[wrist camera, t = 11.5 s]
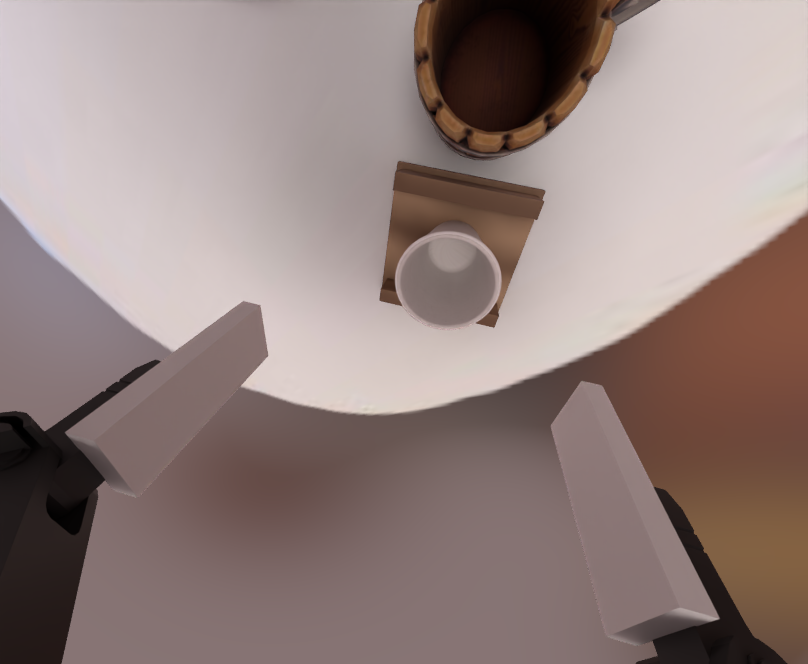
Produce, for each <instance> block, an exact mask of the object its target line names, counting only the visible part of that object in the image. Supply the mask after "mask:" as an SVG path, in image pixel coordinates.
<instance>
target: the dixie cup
mask: <svg viewBox="0 0 808 664" xmlns="http://www.w3.org/2000/svg"><path fill="white" fill-rule="evenodd" d="M501 282H502V279H501V271H500V267H499V264H498V262H497V259H496V258H495V256H494V254H493V253H492V252H491V250H490V249H489V248H488V247H487V246H486V245H485V244H484V243H483V242H482V240H481V239H480V237H479V235H478V234H477V232H476V231H475V230H474V228H473V227H471V226H470V225H469V224H467V223H465V222H462V221H458V220H451V221H446V222H443V223H441V224H440V225H438V226H437V227H436V228H434V229H433V230H432V231H431V232H430V233H429V234H427V235H426V236H424V237H422V238H420V239H418V240H417V241H415V242H414V243H413V244H412V245H410V246H409V247H408V248H407V250H406V251H405V252H404V254H403V255H402V257H401V258H400V260H399V263H398V265H397V269H396V274H395V287H396V292H397V295H398V298H399V300H400V302H401V304H402V306H403V307H404V308H405V310H406V311H407V312H408V313H409V314H410V315H411V316H412V317H413V318H415V319H416V320H417V321H419V322H421V323H422V324H424V325H427V326H429V327H432V328H436V329H443V330H454V329H460V328H464V327H467V326H470V325H472V324H474V323H476V322H478V321H479V320H481V319H482V318H483V317H485V316H486V315H487V314H488V313H489V312H490V310H491V309H492V308H493V306H494V305H495V303H496V301H497V299H498V297H499V294H500V290H501Z"/></svg>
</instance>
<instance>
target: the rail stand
mask: <svg viewBox="0 0 808 664" xmlns="http://www.w3.org/2000/svg"><path fill="white" fill-rule="evenodd" d="M393 190H394V197H393V204H392V212H391V220H390V228H389V236H388V244H387V252H386V260H385V268H384V276H383V284H382V288H381V293H380V301H383V302H387V303H392V304H396V305H400V306H402V304H401V302H400V300H399V298H398V295H397V292H396V287H395V274H396V269H397V265H398V263H399V260H400V258H401V257H402V255H403V254H404V252H405V251H406V250H407V248H408V247H409V246H410V245H412V244H413V243H414V242H415V241H417V240H418V239H420V238H422V237H424V236H426V235H427V234H429V233H430V232H431V231H432V230H433V229H434V228H436V227H437V226H438V225H440V224H441V223H443V222H446V221H451V220H458V221H462V222H465V223H467V224H469V225H470V226H471V227H473V228H474V230H475V231H476V232H477V234H478V235H479V237H480V239H481V240H482V242H483V243H484V244H485V245H486V246H487V247H488V248H489V249H490V250H491V252H492V253H493V254H494V256H495V258H496V259H497V262H498V264H499V267H500V271H501V279H502V282H501V290H500V294H499V297H498V299H497V301H496V303H495V305H494V306H493V308H492V309H491V310H490V312H489V313H488V314H487V315H486V316H485V317H483V318H482V319H481V320H479V321H478V322H476V323H477V324H481V325H485V326H489V327H495V324H496V322H497V319H498V317H499V314H498V311H499V309H500V306H501V303H502V301H503V298H504V296H505V293H506V291H507V288H508V286H509V283H510V280H511V278H512V275H513V273H514V270H515V268H516V265H517V263H518V260H519V258H520V255H521V252H522V250H523V247H524V245H525V242H526V240H527V237H528V235H529V232H530V230H531V227H532V224H533V222H534V219H535V220H537V219H538V216H539V214H540V211H541V209H542V206H543V204H544V201H543V200H542V199H543V196H544V194H545V191H544V190H541V189H536V188H531V187H526V186H521V185H516V184H511V183H506V182H501V181H496V180H491V179H486V178H481V177H476V176H471V175H466V174H461V173H456V172H451V171H446V170H441V169H436V168H431V167H426V166H421V165H416V164H411V163H406V162H401V161H399V162H398V165H397V171H396V172H395V180H394V188H393Z"/></svg>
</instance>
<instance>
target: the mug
mask: <svg viewBox="0 0 808 664" xmlns="http://www.w3.org/2000/svg"><path fill="white" fill-rule="evenodd" d="M658 1H660V0H423V1H422V3H421V4H419V7H418V12H417V17H416V23H415V28H414V71H415V76H416V82H417V87H418V92H419V97H420V99H421V101H422V104H423V106H424V108H425V110H426V112H427V115H428V117H429V119H430V121H431V123H432V124H433V125H434V127H435V129H436V132H437V134H438V135H439V136H440V137H441V139H442V140H443V141H444V142H445V144H446V145H447V146H448V147H449V148H451V149H452V150H454V151H455V152H456V153H458V154H459V155H461V156H464V157H467V158H470V159H474V160H493V159H497V158H500V157H504V156H507V155H510V154H512V153H514V152H517V151H521V150H524V149H526V148H528V147H529V146H531V145H533V144H534V143H536V142H538V141H539V140H541V139H543V138H544V137H546V136H548V135H549V134H550V133H551V132H552V131H553V130H554V129H555V128H556V127H557V126H558V125H559V124H560V123H561V122H562V121H564V120H565V119H566V118H567V117H568V116H569V114H570V113H571V112H572V111H573V110H574V109H575V107H576V106H577V105H578V103H579V102H580V100H581V99H582V98H583V96H584V95H585V93H586V92H587V89H588V87H589V85H590V83H591V81H592V79H593V77H594V75H595V74H596V73H598V72H599V70H600V68H601V66H602V64H603V62H604V60H605V57H606V55H607V53H608V51H609V49H610V46H611V42H612V38H613V34H614V31H616V30H617V26H618V25H620V24H621V23H623V22H625V21H626V20H628V19H630V18H632V17H633V16H635V15H637V14H638V13H640V12H642V11H643V10H645V9H647V8H648V7H650V6H652V5H653V4H655V3H657V2H658Z"/></svg>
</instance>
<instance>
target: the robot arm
mask: <svg viewBox="0 0 808 664" xmlns="http://www.w3.org/2000/svg"><path fill="white" fill-rule="evenodd" d="M267 357H268V351H267V345H266V338H265V332H264V326H263V319H262V313H261V307H260V305H257V304H253V303H248V302H244V301H243V302H241V303H240V304H239V305H237V306H236V307H235V308H233V309H232V310H231V311H229V312H228V313H226V314H225V315H224V316H222V317H221V318H220V319H218V320H217V321H216V322H214V323H213V324H212V325H210V326H209V327H207V328H206V329H205V330H203V331H202V332H201V333H199V334H198V335H197V336H195V337H194V338H192V339H191V340H190V341H188V342H187V343H186V344H184V345H183V346H182V347H180V348H179V349H178V350H176V351H175V352H173V353H172V354H171V355H169V356H168V357H167V358H165V359H164V360H163V361H158V360H154V361H151V362H149V363H147V364H144V365H142V366H140V367H137V368H135V369H134V370H132V371H131V372H130V373H128V374H127V375H125V376H124V377H123V378H121V379H120V381H119V382H115V383H114V384H112V385H111V386H110V387H108V388H107V389H106V391H105V392H101V393H100V394H98V395H97V396H95V397H94V398H92V399H91V400H90V401H88V402H87V403H85V404H84V405H82V406H81V407H80V408H78V409H77V410H75V411H74V412H72V413H71V414H70V415H68V416H67V417H65V418H64V419H63V420H61V421H60V422H58V423H57V424H55V425H54V426H53V427H51V428H50V429H48V430H46V431H45V432H44V431H43V430H42V429H41V428H40V426H38V424H37V423H36V422H35V421H34V420H33V419H32V418H31V417H30V416H29V415H28V414H27V413H24V412H17V411H12V412H4V413H0V664H61V663H62V659H63V654H64V650H65V645H66V641H67V636H68V632H69V627H70V623H71V618H72V613H73V609H74V604H75V600H76V595H77V591H78V586H79V582H80V577H81V573H82V568H83V563H84V559H85V555H86V549H87V545H88V541H89V536H90V532H91V527H92V523H93V518H94V514H95V509H96V505H97V500H98V491H97V489H96V488H97V487H98V486H99V485H100V484H102V483H103V481H106V482H107V483H108V484H109V486H110V487H111V488H112V489H113V490H114V491H116V492H120V493H123V494H126V495H130V496H133V497H137V498H138V497H139V496H140V495H141V494H142V493H143V492H144V490H145V489H147V487H148V486H149V485H150V484H151V483H152V482H153V481H154V480H155V479H156V478H157V477H158V475H159V474H160V473H161V472H162V471H163V470H164V469H165V468H166V467H167V466H168V464H169V463H170V462H171V461H172V460H173V459H174V458H175V457H176V456H177V455H178V454H179V452H180V451H181V450H182V449H183V448H184V447H185V446H186V444H188V443H189V442H190V441H191V439H192V438H193V437H194V436H195V435H196V434H197V433H198V432H199V431H200V430H201V429H202V427H203V426H204V425H205V424H206V423H207V422H208V421H209V420H210V419H211V418H212V417H213V415H214V414H215V413H216V412H217V411H218V410H219V409H220V408H221V407H222V406H223V404H224V403H225V402H226V401H227V400H228V399H229V398H230V397H231V396H232V395H233V394H234V392H235V391H236V390H237V389H238V388H239V387H240V386H241V385H242V384H243V383H244V382H245V381H246V379H247V378H248V377H249V376H250V375H251V374H252V373H253V372H254V371H255V370H256V369H257V367H258V366H259V365H260V364H261V363H262V362H263V361H264V360H265V359H266V358H267ZM551 429H552V433H553V436H554V440H555V443H556V448H557V451H558V456H559V459H560V463H561V467H562V471H563V475H564V478H565V482H566V486H567V490H568V494H569V497H570V501H571V505H572V508H573V513H574V517H575V520H576V524H577V528H578V532H579V536H580V539H581V543H582V547H583V550H584V555H585V558H586V562H587V566H588V570H589V574H590V577H591V581H592V585H593V589H594V593H595V596H596V600H597V604H598V608H599V612H600V615H601V619H602V623H603V627H604V631H605V635H606V637H609V638H612V639H616V640H619V641H622V642H626V643H629V644H632V645H636V646H638V645H641V644H645V643H647V642H650V641H653V643H654V646H655V649H656V652H657V654H658V656H656V657H652V658H649V659H645V660H642V661H638V662H636V664H787V663H786V662H785V661H784V660H783V659H782V658H781V657H780V656H779V655H778V654H777V653H776V652H775V651H774V650H772V649H771V648H770V647H768V646H767V645H765V644H764V643H763V642H761V641H760V640H759V639H756V638H754V636H753V635H752V633H751V632H750V630H749V628H748V627H747V626H746V624H745V622H744V620H743V618H742V617H741V615H740V613H739V611H738V610H737V608H736V606H735V604H734V602H733V600H732V599H731V597H730V595H729V593H728V591H727V590H726V588H725V586H724V584H723V582H722V581H721V579H720V577H719V575H718V573H717V572H716V570H715V568H714V566H713V564H712V562H711V561H710V559H709V557H708V555H707V554H706V553H704V551H703V549H704V548H703V546H702V545H701V542H700V541H699V539H698V537H697V535H695V534H694V530H693V528H692V526H691V524H690V522H689V521H688V519H687V517H686V515H685V514H684V512H683V510H682V509H681V507H680V506H679V505H678V504H677V503H676V502H675V501H674V499H673V498H672V497H671V496H670V495H669V494H668V492H667V491H665V490H663V489H660V488H656V487H653V485H652V484H651V482H650V480H649V478H648V475H647V473H646V471H645V470H644V468H643V466H642V464H641V462H640V460H639V458H638V456H637V454H636V452H635V450H634V448H633V446H632V444H631V442H630V440H629V438H628V436H627V434H626V432H625V430H624V428H623V426H622V424H621V422H620V420H619V418H618V416H617V414H616V412H615V410H614V408H613V406H612V405H611V402H610V400H609V398H608V396H607V395H606V393H605V390H604V388H603V386H601V385H597V384H593V383H589V382H584V381H581V382H580V384H579V385H578V387H577V389H576V390H575V391H574V393H573V394H572V396H571V397H570V398H569V400H568V401H567V403H566V404H565V406H564V407H563V409H562V410H561V412H560V413H559V414H558V416H557V417H556V419H555V420H554V422H553V423H552V425H551Z"/></svg>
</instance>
